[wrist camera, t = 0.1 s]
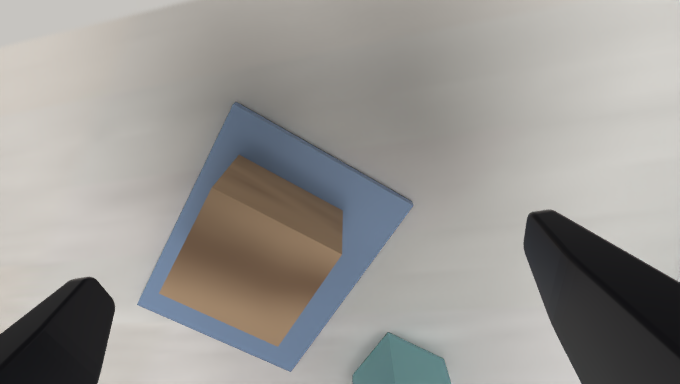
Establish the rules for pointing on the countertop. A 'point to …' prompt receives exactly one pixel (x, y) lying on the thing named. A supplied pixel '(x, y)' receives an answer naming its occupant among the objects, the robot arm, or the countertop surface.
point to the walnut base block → (256, 252)
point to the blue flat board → (316, 178)
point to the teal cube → (401, 365)
